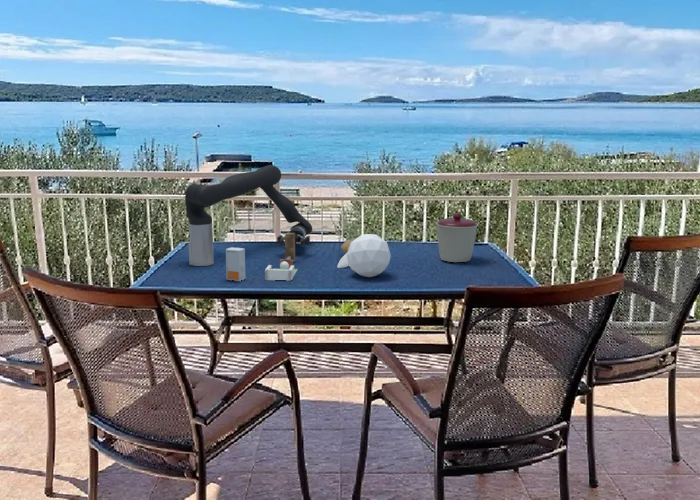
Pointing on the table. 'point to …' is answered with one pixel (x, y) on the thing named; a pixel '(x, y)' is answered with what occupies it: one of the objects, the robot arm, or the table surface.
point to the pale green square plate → (294, 270)
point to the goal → (279, 274)
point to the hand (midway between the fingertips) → (291, 242)
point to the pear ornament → (367, 255)
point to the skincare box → (235, 264)
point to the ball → (284, 265)
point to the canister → (456, 238)
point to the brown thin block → (289, 248)
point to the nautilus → (347, 245)
